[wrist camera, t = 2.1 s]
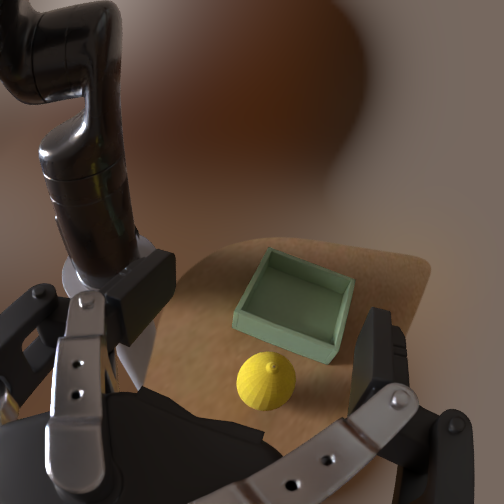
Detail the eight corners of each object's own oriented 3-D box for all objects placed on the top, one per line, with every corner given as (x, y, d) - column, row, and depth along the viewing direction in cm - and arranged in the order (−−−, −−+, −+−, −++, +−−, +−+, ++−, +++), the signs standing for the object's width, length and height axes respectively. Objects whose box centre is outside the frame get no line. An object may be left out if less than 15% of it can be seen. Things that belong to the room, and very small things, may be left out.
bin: (231, 327, 37) (233, 311, 34) (264, 264, 44) (268, 246, 42) (327, 365, 35) (338, 351, 32) (346, 295, 42) (355, 279, 40)
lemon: (256, 428, 29) (269, 409, 23) (223, 389, 31) (227, 359, 26) (295, 398, 31) (318, 371, 26) (263, 362, 34) (277, 327, 28)
